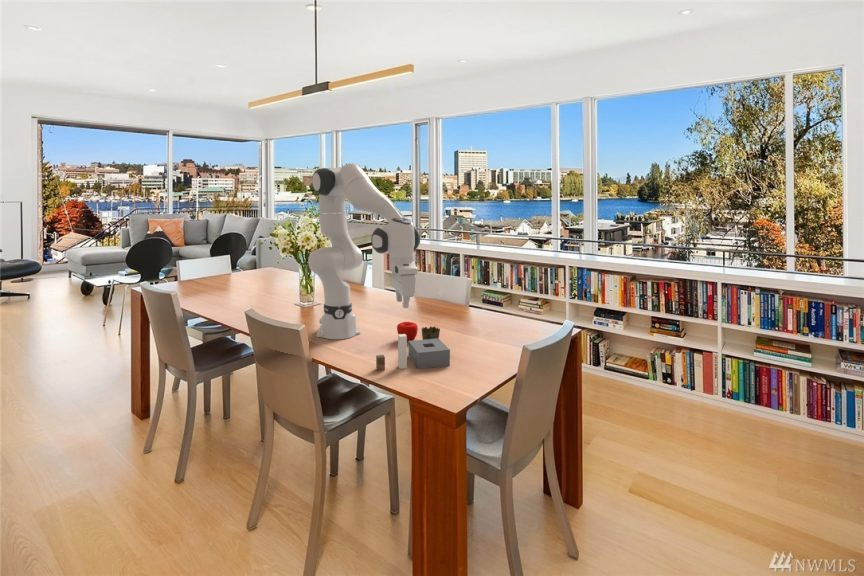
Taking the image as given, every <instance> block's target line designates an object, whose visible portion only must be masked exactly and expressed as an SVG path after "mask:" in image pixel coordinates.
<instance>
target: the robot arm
mask: <svg viewBox="0 0 864 576" xmlns="http://www.w3.org/2000/svg"><path fill="white" fill-rule="evenodd" d="M311 178H312V180H311V182H312V183H311V184H312V188H313V190H314V192H315V193H316V194H317V195H319V197H318V198H319V199H318V213H319V214H318V216H319V217H318V218H319V225H320V232H321V234H322V235H323V236H324V237H326V238H328V239H329V241H330V244H331V246H329V247H328V246H327V247H320V248H318V249H315V250H313V251H311V252H310V253H309V255H308V257H307V260H308V261H307V263H308V266H309V268H310V271H311V272H312V273H314V274H316V275H317V277H318V278H319V279H320V281H321V284H322V287H323V297H324V298H323V299H324V304H323V315H322V316H321V318H319V325H320V326H319V329H318V331H317V333H316V337H317V338H324V339H328V340H346V339H349V338H352V337H353V338H354V336H356V335H361V330H359V329H358V328H357V319H356V315H355V314H354V313H353V305H352V301H351V286H350V284H349V283H348V282H347V281H345V280H343V279H342V276H341V272H346V271H347V272H348V271H352V270H354V269H356V268H358V267H361V265H362V263H363V260H364V259H363V258H364V257H363V256H364V255H363V252H362V251H361V248H359V247H358V246H357V245H356V244H355V242H354V241H353V239H352V238H351V235H350V233H349V228H348V221H347V211H346V202H345V201H346V199H347V201H348V202H349V204H350V205H351V206H352V207H354V208H355V209H356V210H358V211H362V212H365V213H366V212H367V213H372V214H375V215H378V216H381V217H382V218H385V220H386V221H387V222H388V223H387V224H385V225H382V226H380V227H377V228H375V230H373V232H372V234H371V238H370V239H371V247H372V249H374V251H375V252H376V253H378V254H382V255H386V254H389V256H388V260H389V265H388V267H389V272H391V287H392V288H393V289H394V292H395V295H396V296H395V297H396V302H397V303H401V302H402V308H404V309H408V308H409V307H410V306H409V305H410V304H409V303H410V299H411V298H413V297H414V296H415V293H416V275H417V274H418V267H417V266H416V255H415V251H416V250H417V249H418V247H419V246H420V243H421V235H420V232H419V231H418V229H417V228H416V226H415V225H414V223H413V221H412V220H411V219H408V218H406V217H405V216H404V215H403V213H402V211H401V210H400V209H399V208H398V207H397V206H396V204H395V203H394V202H393V201H392V200H391V199H390V198H389V196H387V195H385V194H384V193H383V192H381V191H380V190H379V189H378V188H377V187H376V186H375V185H374V183H373V181H372V180H371V178H370V177H369V176H368V175H367V173H366V171H365V170H363V168H362V167H361V166H360V165H359V164H357V163H354V162H349V163H346V164H345V165H343V166H341V167H330V168H329V167H328V168H326V167H322V168H318V169H316V170H315V171H314V173H313V175H312V177H311Z"/></svg>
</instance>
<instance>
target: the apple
mask: <svg viewBox="0 0 864 576" xmlns="http://www.w3.org/2000/svg"><path fill="white" fill-rule="evenodd" d="M396 330H397V336H398V335H399V334H405V335H406V336H407V343H409V341H414V340H415V339H416V337H417V335H418V330H419V328H418V325H417V323H415V322H413V321H403V322H399V323H398V324H397V325H396Z"/></svg>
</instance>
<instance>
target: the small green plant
mask: <svg viewBox="0 0 864 576" xmlns="http://www.w3.org/2000/svg"><path fill="white" fill-rule="evenodd" d="M440 331H441V329H440V328H439V327H436V326H435V325H434V326H431V325H430V326H429V328H428V327H427V326H425V327H424V326H423V327H422V328H421V337H422V340H425V339H437V338H438V339H439V338H440ZM439 340H440V339H439Z"/></svg>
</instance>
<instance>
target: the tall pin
mask: <svg viewBox="0 0 864 576" xmlns="http://www.w3.org/2000/svg"><path fill="white" fill-rule="evenodd" d="M397 345H398V346H397V366H398V368H399V369H400V370H401V369H403V370H404V369H408V364H407V363H408V342H407V336H406V335H405V334H399V335H398V334H397Z"/></svg>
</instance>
